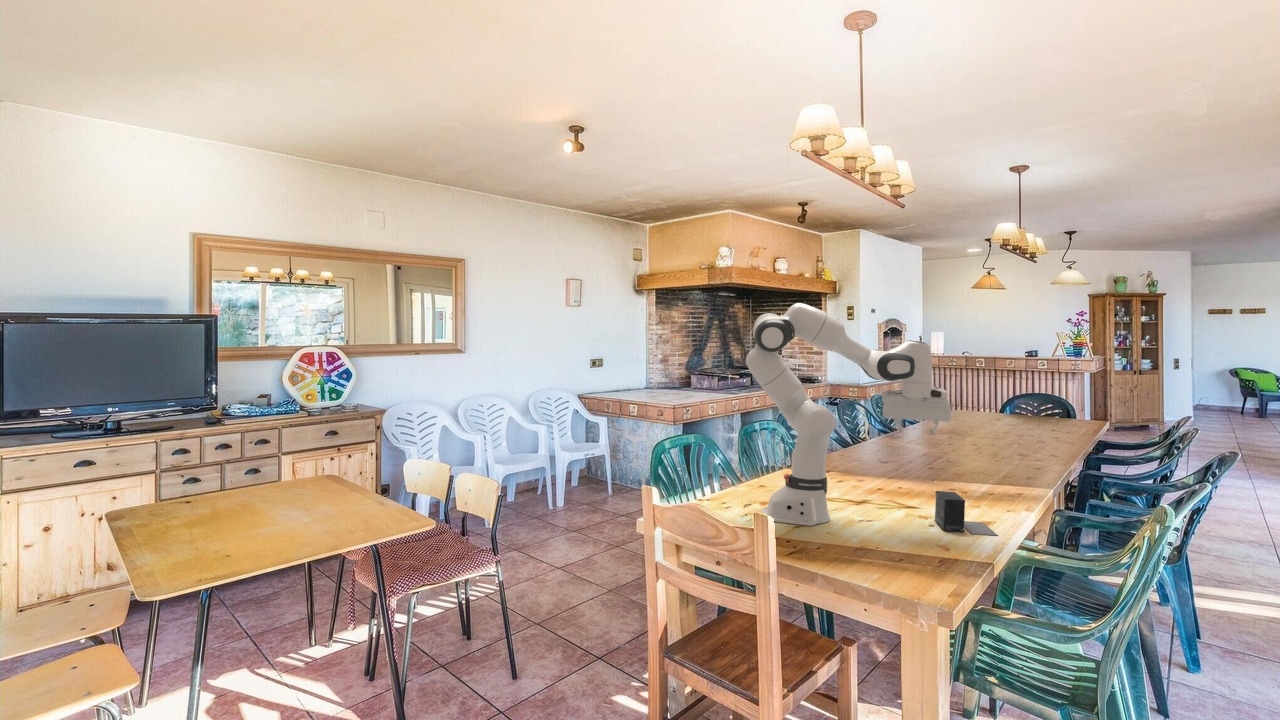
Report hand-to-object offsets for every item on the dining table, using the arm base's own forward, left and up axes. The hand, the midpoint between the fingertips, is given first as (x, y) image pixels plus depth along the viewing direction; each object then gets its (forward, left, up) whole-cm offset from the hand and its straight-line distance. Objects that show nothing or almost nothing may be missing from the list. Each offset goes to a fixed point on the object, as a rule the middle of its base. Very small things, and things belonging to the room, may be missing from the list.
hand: (916, 433), depth 196 cm
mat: (+19, 0, -30) cm, 35 cm away
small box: (+11, 0, -30) cm, 32 cm away
